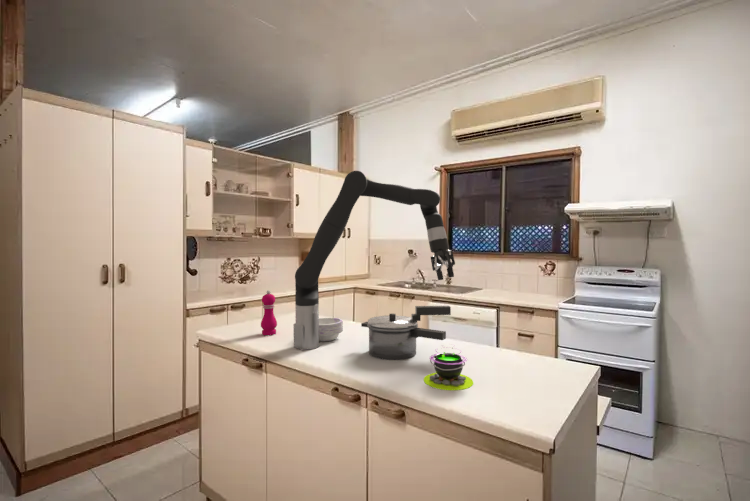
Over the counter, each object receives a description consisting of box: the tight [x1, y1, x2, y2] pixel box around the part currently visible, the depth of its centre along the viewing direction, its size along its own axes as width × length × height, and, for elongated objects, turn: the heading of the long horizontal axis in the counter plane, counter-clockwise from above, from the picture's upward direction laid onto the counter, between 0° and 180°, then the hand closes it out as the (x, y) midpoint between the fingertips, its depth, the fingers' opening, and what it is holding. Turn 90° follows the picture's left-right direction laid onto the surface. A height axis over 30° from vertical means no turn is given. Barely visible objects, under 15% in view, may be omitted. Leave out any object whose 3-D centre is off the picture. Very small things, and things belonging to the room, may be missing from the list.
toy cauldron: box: [423, 344, 474, 391], centre depth 119 cm, size 15×15×11 cm
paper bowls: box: [319, 317, 344, 342], centre depth 170 cm, size 15×15×8 cm
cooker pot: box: [360, 321, 447, 361], centre depth 147 cm, size 34×19×11 cm, turn 58°
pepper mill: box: [260, 290, 278, 336], centre depth 178 cm, size 7×7×20 cm
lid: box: [367, 305, 452, 329], centre depth 149 cm, size 31×19×6 cm, turn 93°
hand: (446, 278), depth 156 cm, fingers open, 8 cm apart
